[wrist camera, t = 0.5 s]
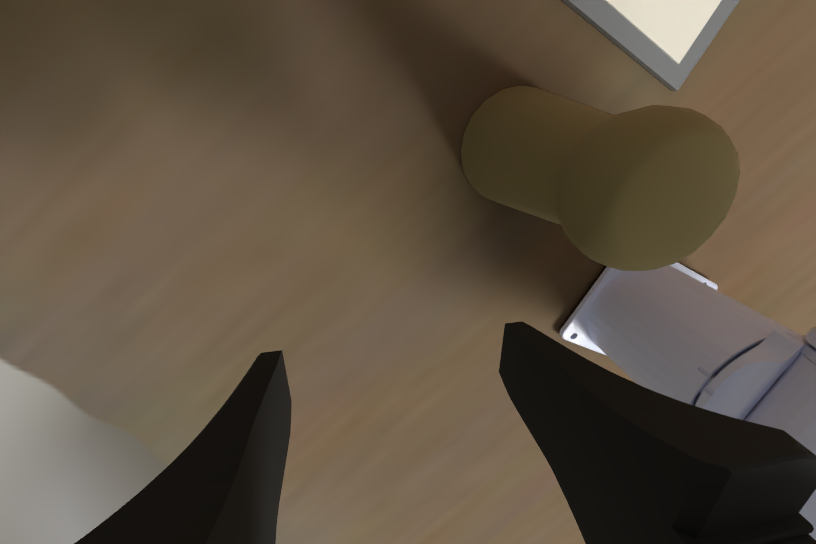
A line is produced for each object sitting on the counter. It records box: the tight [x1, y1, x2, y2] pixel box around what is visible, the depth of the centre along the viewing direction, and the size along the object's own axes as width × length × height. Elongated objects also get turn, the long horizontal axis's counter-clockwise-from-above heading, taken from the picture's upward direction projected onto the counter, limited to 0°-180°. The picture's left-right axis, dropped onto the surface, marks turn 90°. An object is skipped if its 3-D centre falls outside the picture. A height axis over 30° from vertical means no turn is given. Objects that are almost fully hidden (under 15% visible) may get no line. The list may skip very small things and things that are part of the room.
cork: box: [461, 85, 740, 271], centre depth 16 cm, size 6×6×11 cm
